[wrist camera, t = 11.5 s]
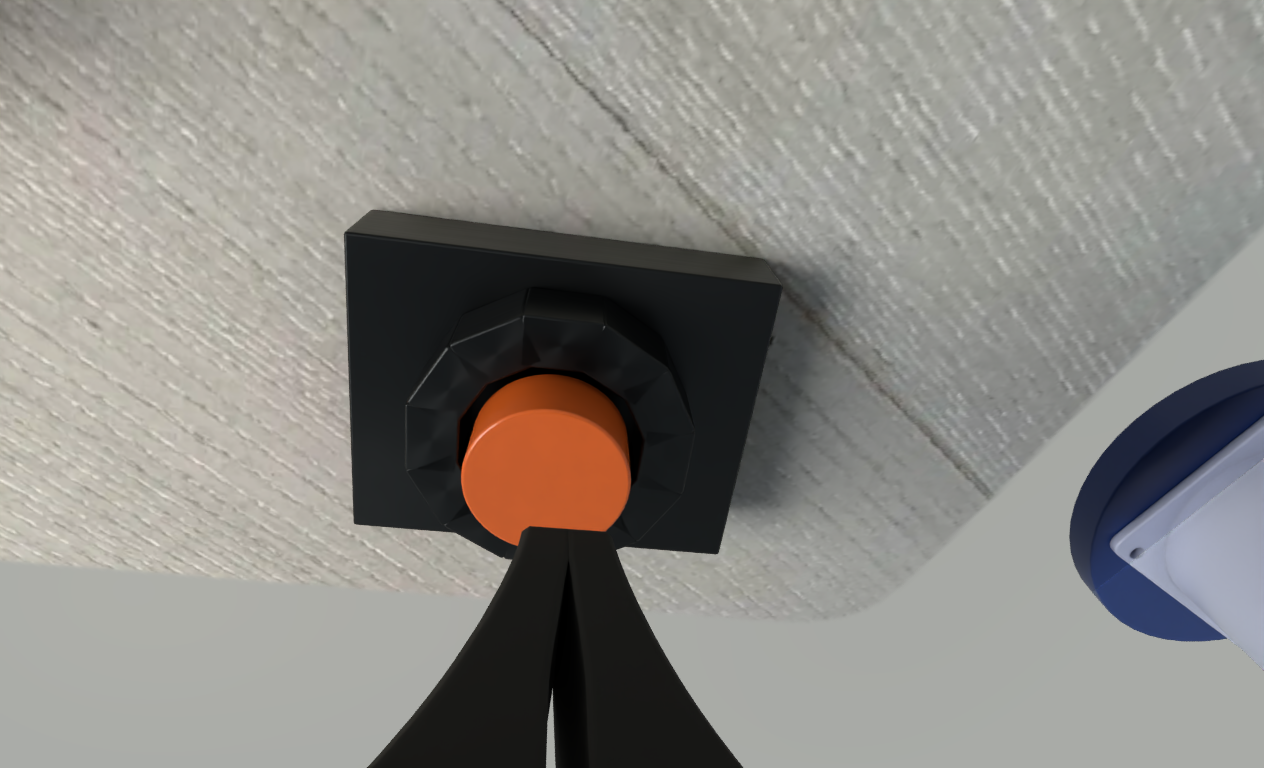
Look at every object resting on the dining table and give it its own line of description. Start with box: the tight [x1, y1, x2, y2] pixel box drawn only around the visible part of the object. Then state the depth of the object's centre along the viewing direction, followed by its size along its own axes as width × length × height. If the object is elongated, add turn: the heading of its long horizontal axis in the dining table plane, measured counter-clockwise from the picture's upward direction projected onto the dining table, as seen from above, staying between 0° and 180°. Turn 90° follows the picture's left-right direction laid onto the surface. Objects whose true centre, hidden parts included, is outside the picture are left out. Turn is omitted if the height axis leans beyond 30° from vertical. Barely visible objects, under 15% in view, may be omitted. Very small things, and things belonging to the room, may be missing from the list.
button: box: [461, 374, 631, 546], centre depth 16 cm, size 4×4×2 cm
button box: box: [344, 210, 783, 560], centre depth 18 cm, size 10×8×4 cm
